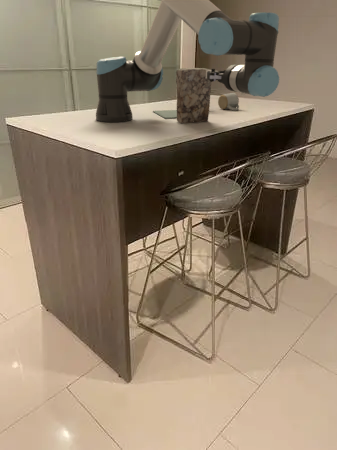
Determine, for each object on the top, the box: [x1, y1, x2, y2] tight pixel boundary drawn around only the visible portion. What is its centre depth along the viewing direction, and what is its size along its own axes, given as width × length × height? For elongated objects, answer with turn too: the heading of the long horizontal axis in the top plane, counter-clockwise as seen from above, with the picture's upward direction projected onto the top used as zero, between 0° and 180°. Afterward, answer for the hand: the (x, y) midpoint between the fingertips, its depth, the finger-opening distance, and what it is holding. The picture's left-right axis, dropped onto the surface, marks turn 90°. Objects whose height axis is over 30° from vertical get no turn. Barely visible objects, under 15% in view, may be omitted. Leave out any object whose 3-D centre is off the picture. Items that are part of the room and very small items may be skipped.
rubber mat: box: [152, 109, 177, 120], centre depth 156 cm, size 18×20×1 cm
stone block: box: [175, 67, 212, 124], centre depth 135 cm, size 13×7×20 cm, turn 120°
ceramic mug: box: [217, 92, 240, 112], centre depth 171 cm, size 11×8×8 cm
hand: (207, 74), depth 121 cm, fingers closed
